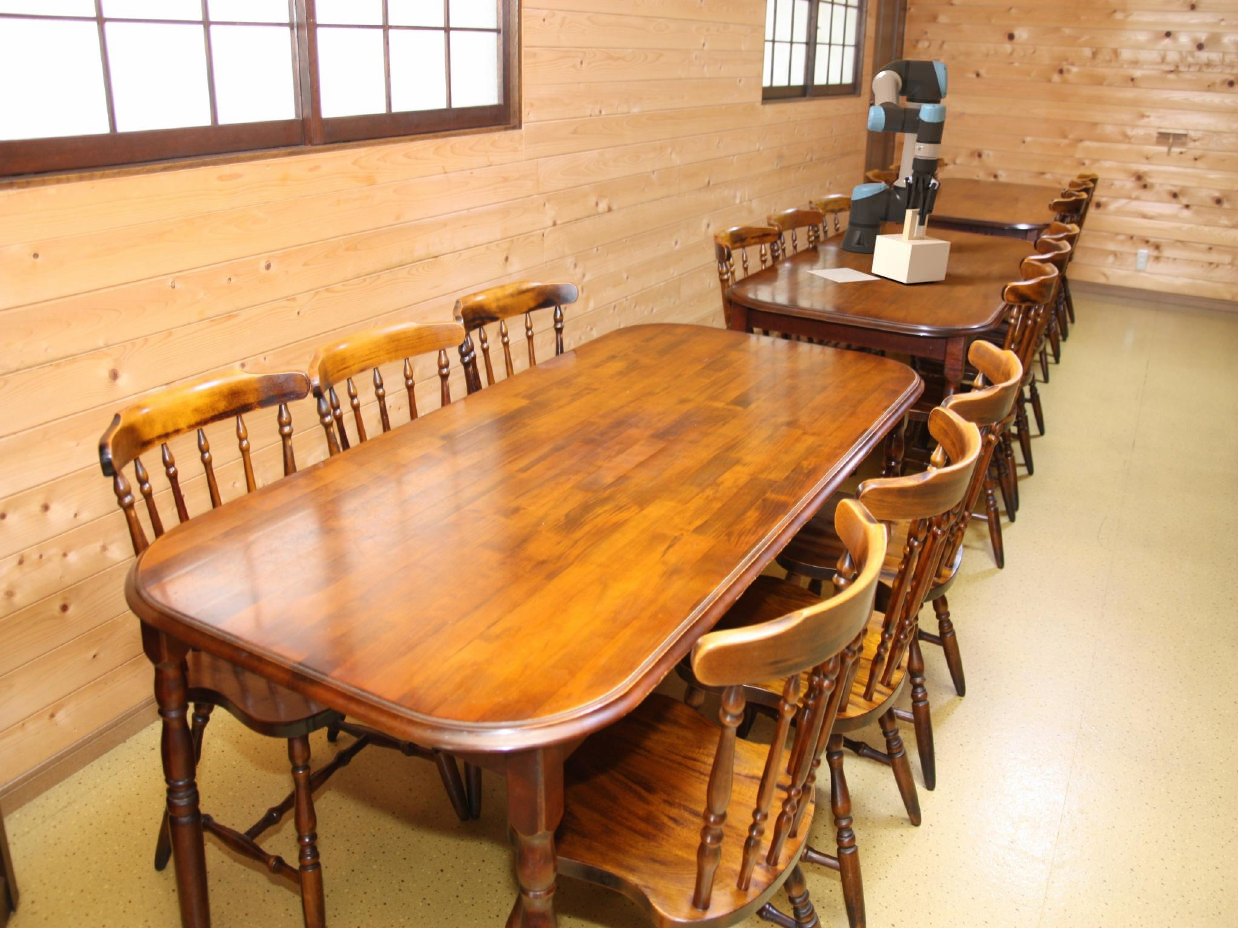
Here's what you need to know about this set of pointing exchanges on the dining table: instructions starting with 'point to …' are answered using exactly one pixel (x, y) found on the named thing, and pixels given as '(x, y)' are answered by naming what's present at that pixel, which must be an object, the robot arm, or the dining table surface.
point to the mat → (843, 275)
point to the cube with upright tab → (911, 254)
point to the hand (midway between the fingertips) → (914, 234)
